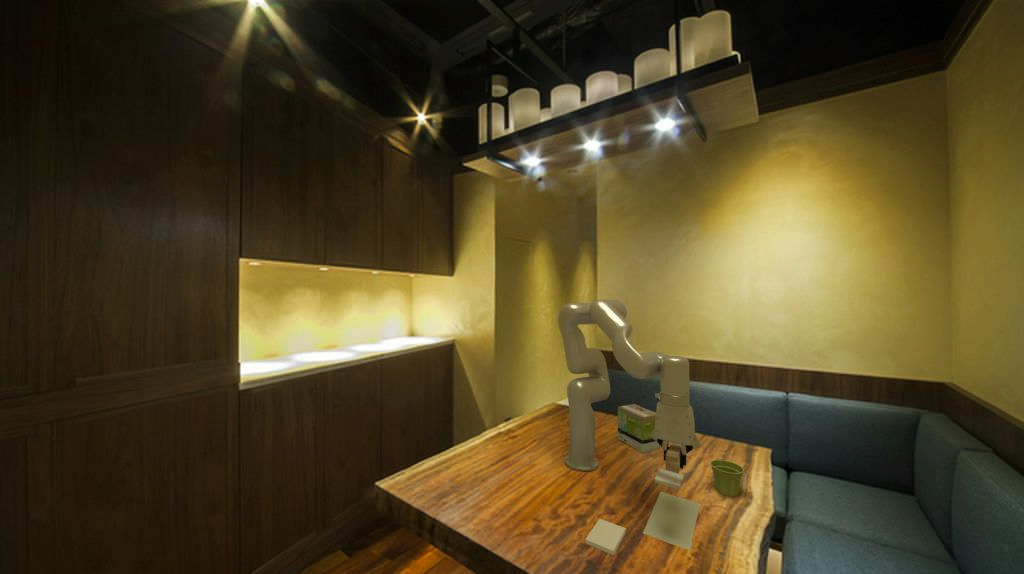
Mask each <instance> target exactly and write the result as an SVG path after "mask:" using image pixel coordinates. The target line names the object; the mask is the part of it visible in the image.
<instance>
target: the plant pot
mask: <svg viewBox="0 0 1024 574" xmlns="http://www.w3.org/2000/svg"><path fill="white" fill-rule="evenodd" d="M709 465H710V466H711V470H712V473H713V480H714V485H715V486H714V487H715V490H716V492H717V493H719V494H720V495H721V494H722V495H724V496H727V497H732V498H733V497H738V496H739V494H740V488H741V487H740V486H741V480H742V477H743V474H744V473H745V469H744V468H743V466H741V465H739V464H738V463H736V462H733V461H730V460H729V461H728V460H724V459H712V460H711V461H709Z"/></svg>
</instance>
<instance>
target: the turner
mask: <svg viewBox="0 0 1024 574" xmlns="http://www.w3.org/2000/svg"><path fill="white" fill-rule="evenodd" d="M680 453H681V444H678V443H673V442H670V445H669V449H668V451H667V453H666V461H665V469H662V468H659V469H658V471H657V473H656V476H655V477H654V483H656V484H660V485H663V486H667V487H670V488H674V489H677V490H681V487H682V485H683V482H684V478H685V475H684V474H682V473H680V472H681V469H680Z"/></svg>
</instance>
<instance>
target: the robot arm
mask: <svg viewBox="0 0 1024 574" xmlns="http://www.w3.org/2000/svg"><path fill="white" fill-rule="evenodd" d="M627 314H628V312H627V307H626V306H625V304H624V303H623V302H622V301H620V300H617V299H597V300H594V301H593V302H570V303H566V304H565V305H563V306H562V307H560V310H559V312H558V316H557V325H558V328H559V331H560V335H561V337H562V342H563V349H564V356H565V362H566V367H567V369H568V372H569V373H571V374H573V375H581V374H588V376H583V377H577V378H574V379H572V380H570V381H569V382H568V384H567V387H566V397H567V401H568V413H569V414H568V417H569V418H568V419H569V420H568V421H569V422H568V454H567V455H565V457H564V464H565V465H566V466H567V467H568V468H571V469H572V470H576V471H580V472H592V471H594V470H597V469H598V468H599V466H600V462H599V459H597V458H596V456H595V455H596V454H595V453H596V452H595V451H596V449H597V448H596V445H595V443H596V441H595V440H596V435H595V434H596V417H595V416H596V414H595V412H594V410H593V407H592V405H591V404H593V403H598V402H601V401H605V400H608V398H609V397H610V394H611V384H610V378H609V371H608V367H607V362H606V361H607V360H606V358H605V355H604V354H603V353H602V351H601V350H600V349H598V348H596V347H587V344H586V337H585V334H584V332H583V331H582V329H580V328H579V325H584V326H585V325H597V327H598V328H599V329H600V330H601V331H602V332H603V333H604V334H605V335H606V336H607V338H608V339H609V340H610V341H611V348H612V349H611V350H612V353H613V356H614V358H615V359H616V361H617V363H618V364H619V365H620V366H621V368H622V369H623V370H624V371H625V372H626V373H627V374H628V375H630V376H631V377H632V378H634V379H637V380H643V379H651V378H659V377H660V379H659V380H660V383H659V384H660V391H659V392H655V393H654V397H655V399H656V398H657V399H659V401H658V402H657V404H656V410H655V413H656V415H655V428H654V430H653V432H652V433H651V435H650V437H651V438H653V439H654V440H655V441H657V442H658V443H659V445H660V448H661V449H662V450H663V461H665V462H666V453H667V451H668V449H669V447H670V445H669V443H672V442H673V443H678V444H681V453H680V470H683V469H684V466H686V465H687V454H688V453H689V452H691V451H692V450H697V449H700V448H701V446H702V444H701V442H700V440H699V438H698V436H697V434H696V429H695V428H696V426H695V425H696V424H695V417H694V410H693V407H692V405H690V361H689V360H688V358H687V357H685V356H679V355H669V354H666V353H664V352H661V351H646V352H638V350H636V349H635V348H634V347H633V345H631V343H630V342H629V340H628V338H630V336H631V335H632V332H633V325H632V324H631V323H630V322H629V321H628V320H627V319H626V318H627Z"/></svg>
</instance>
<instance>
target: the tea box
mask: <svg viewBox="0 0 1024 574" xmlns="http://www.w3.org/2000/svg"><path fill="white" fill-rule="evenodd" d="M655 415H656V411H653V410H651V409H647V408H644V407H642V406H640V405H638V404H635V403H632V404H626V405H621V406H617V440H619V441H621V442H623V443H624V444H627V445H628V446H630V447H632V448H634V449H636V450H637V451H638V452H640V453H648V452H653V451H656V450H659V449H661V446H660V445H659V443H658V442H657V441H655V440H654V439H653V438H651V437H650V435H651V433H652V432H653V430H654V428H655Z"/></svg>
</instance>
